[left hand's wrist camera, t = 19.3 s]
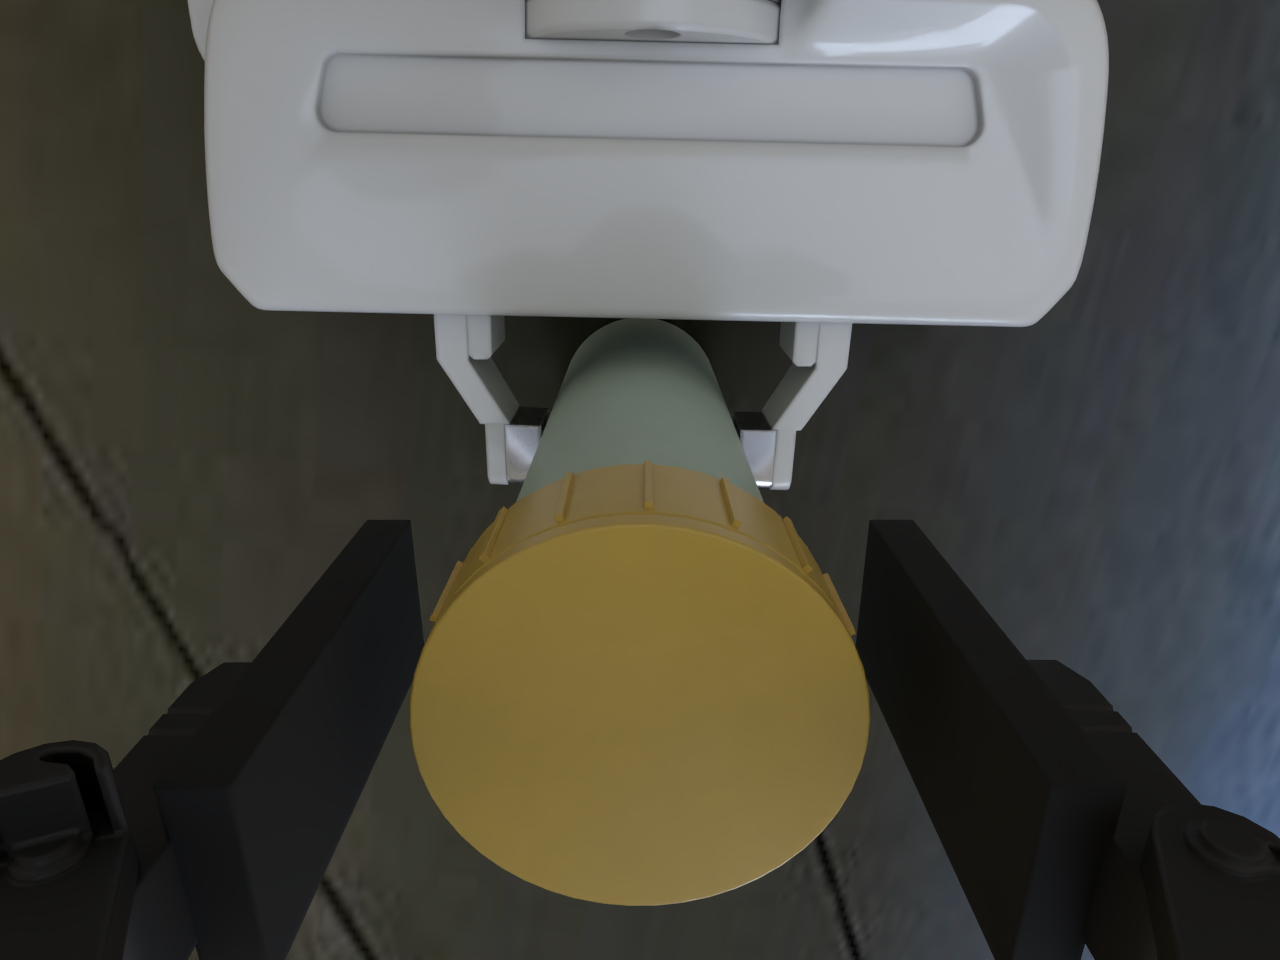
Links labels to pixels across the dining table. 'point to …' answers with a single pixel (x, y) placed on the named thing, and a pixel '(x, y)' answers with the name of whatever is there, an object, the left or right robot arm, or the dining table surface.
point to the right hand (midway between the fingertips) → (640, 480)
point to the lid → (639, 689)
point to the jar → (639, 409)
